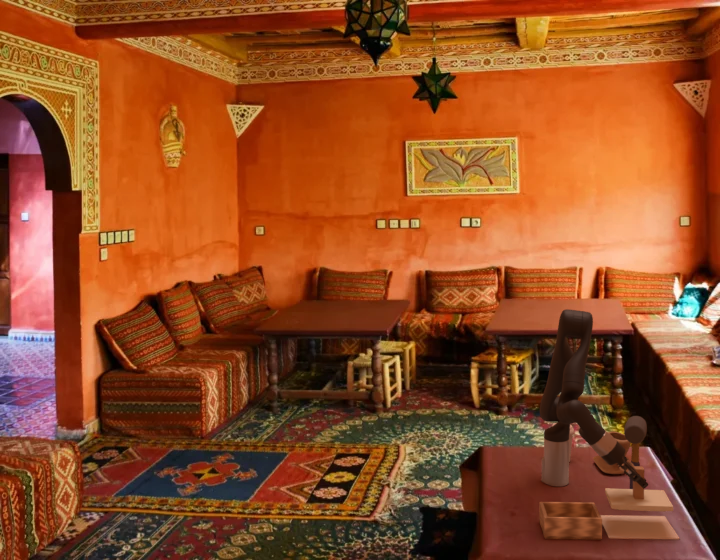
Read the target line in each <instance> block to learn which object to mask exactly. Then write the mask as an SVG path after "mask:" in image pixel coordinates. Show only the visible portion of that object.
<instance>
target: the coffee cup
mask: <svg viewBox="0 0 720 560" xmlns="http://www.w3.org/2000/svg"><path fill="white" fill-rule="evenodd" d="M556 423H557V422H554V423H552V425H551V427H552V426H554V425H555V424H556ZM574 433H575V429H574V427H573V425H572V424H570V433H569V462H570V463H571V457H572V456H571V455H572V445H573V437H574V436H573V435H574Z"/></svg>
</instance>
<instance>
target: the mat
mask: <svg viewBox="0 0 720 560" xmlns="http://www.w3.org/2000/svg"><path fill="white" fill-rule="evenodd" d="M600 516H601V518H602V528H603V529H604V531H605V533H606V536H607V538H608V539H618V540H619V539H623V540H624V539H625V540H627V539H628V540H680V537H679V535H678V534H677V533H676V531H675V529H674V528H673V527H672V525H671V524H670V522H669V520H668V519H667V517H666V516H665V515H616V514H615V515H614V514H613V515H610V514H608V515H605V514H604V515H603V514H600Z"/></svg>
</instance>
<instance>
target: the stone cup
mask: <svg viewBox="0 0 720 560" xmlns="http://www.w3.org/2000/svg"><path fill="white" fill-rule="evenodd" d="M607 432H608V433H609V434H611V435H612V436H613V437H614V438H615V439H616V440H617V441H618V442H619V443H620V444H621V445H622V446H623V447H624V448H625V450H626V452H625V456H626V457H627V454H628V452H629V450H630V447H631V446H630V445H631V443H630V442H629V441H628V440H627V439H626V438H625V434H624V433H621V432H618V431H607ZM592 459H593V462H594V463H595V465H596V466H597V467H598V468H599V469H600V470H601V472H603V473H605V474H607V475H620V474H621V475H622V474H625V473H624V472H623V471H621V470H620V469H619V467H618V465H617V463H616V464H614V465H609V464H608V463H606V462H605V461H604V460H603V459H602V458H601V457H600V456H599V455H596V456H594V457H593V458H592Z"/></svg>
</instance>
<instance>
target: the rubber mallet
mask: <svg viewBox="0 0 720 560" xmlns="http://www.w3.org/2000/svg"><path fill="white" fill-rule="evenodd" d="M647 426H648V425H647V421H646V419H644V418H643V417H642V416H639V415H632V416H631V417H629V418H628V419H627V421H626V423H625V425H624V430H623V431H624V432H623V434H624V435H625V438H626V439H627V440H628V441H629V442H630V444H631V459H630V462H631V463H632V464H633V465H634V466H641V463H640V444H641V443H642V442H643V441H644V440H645V438H646V436H647V432H648V428H647ZM629 489H633V480H632V479H631V478H630V477H629Z"/></svg>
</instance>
